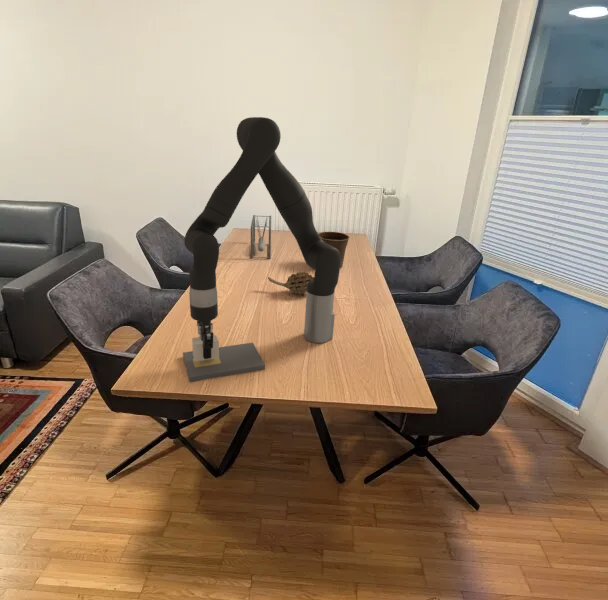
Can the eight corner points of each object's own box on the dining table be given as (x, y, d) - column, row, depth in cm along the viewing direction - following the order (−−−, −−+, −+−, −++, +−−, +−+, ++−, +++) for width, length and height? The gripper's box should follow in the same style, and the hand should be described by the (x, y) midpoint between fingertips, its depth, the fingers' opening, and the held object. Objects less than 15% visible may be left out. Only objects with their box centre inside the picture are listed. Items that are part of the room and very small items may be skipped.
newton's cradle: (253, 243, 245) (253, 214, 238) (270, 244, 246) (271, 214, 238) (250, 259, 217) (250, 226, 210) (270, 260, 218) (271, 227, 211)
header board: (252, 346, 134) (252, 331, 132) (265, 369, 122) (265, 352, 120) (183, 356, 126) (182, 340, 124) (189, 382, 115) (188, 365, 112)
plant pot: (347, 271, 207) (350, 240, 201) (315, 270, 207) (317, 238, 201) (345, 261, 222) (348, 232, 215) (315, 260, 222) (317, 230, 215)
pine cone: (317, 290, 182) (318, 269, 178) (315, 299, 173) (316, 277, 169) (267, 286, 183) (268, 265, 179) (263, 294, 175) (264, 272, 171)
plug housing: (216, 351, 124) (216, 335, 122) (219, 357, 121) (218, 341, 119) (192, 354, 122) (191, 338, 119) (194, 361, 118) (193, 344, 116)
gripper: (222, 309, 110) (223, 364, 116) (212, 290, 122) (214, 341, 128) (193, 312, 107) (196, 369, 114) (186, 292, 119) (189, 344, 126)
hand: (206, 353), depth 121 cm, fingers closed on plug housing, 4 cm apart
